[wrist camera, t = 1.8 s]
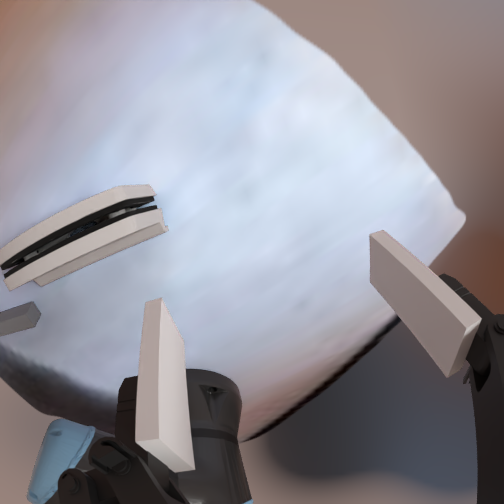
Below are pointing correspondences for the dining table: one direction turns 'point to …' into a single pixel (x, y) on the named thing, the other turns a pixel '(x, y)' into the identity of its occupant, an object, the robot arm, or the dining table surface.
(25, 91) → the dining table surface
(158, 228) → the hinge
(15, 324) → the bracket
